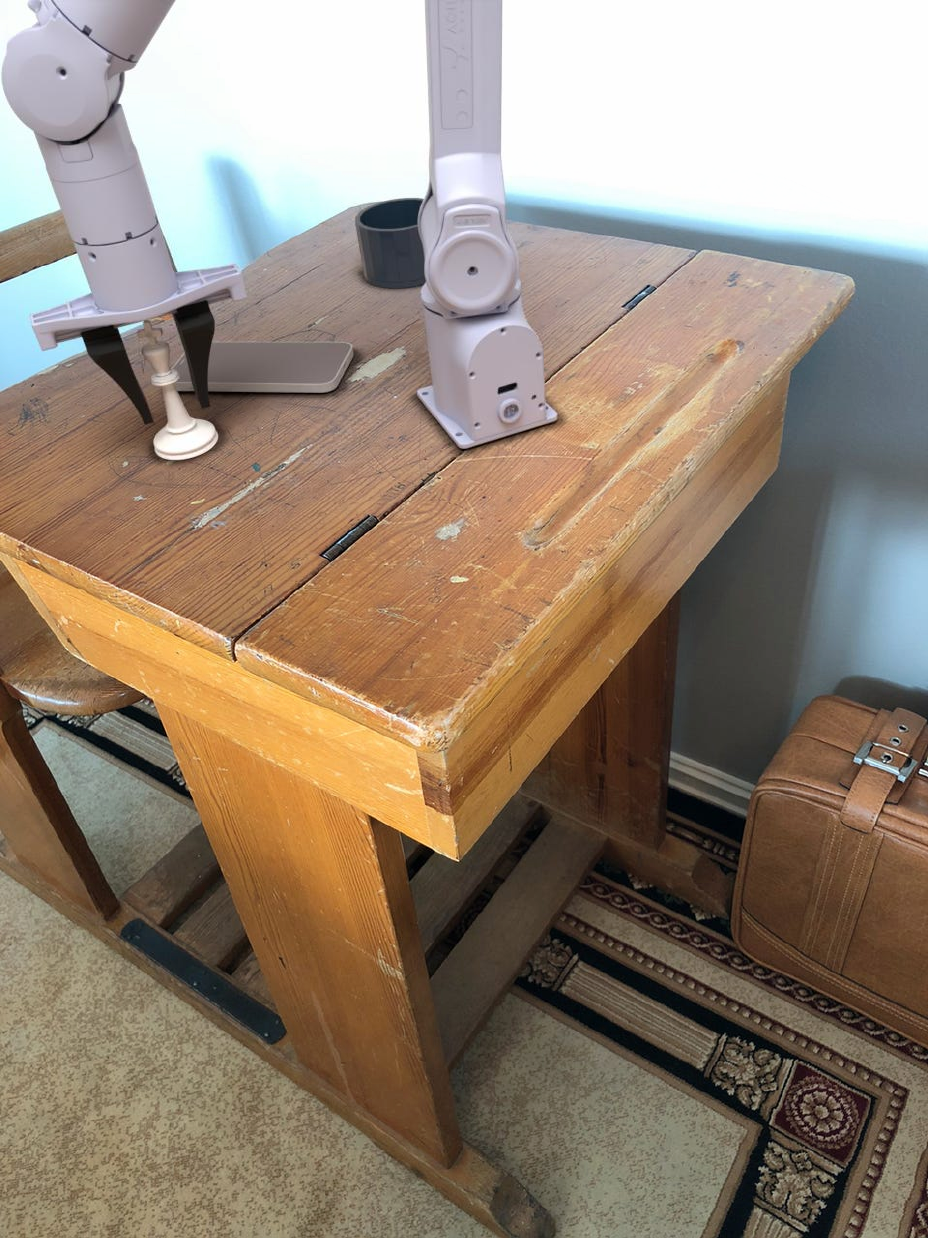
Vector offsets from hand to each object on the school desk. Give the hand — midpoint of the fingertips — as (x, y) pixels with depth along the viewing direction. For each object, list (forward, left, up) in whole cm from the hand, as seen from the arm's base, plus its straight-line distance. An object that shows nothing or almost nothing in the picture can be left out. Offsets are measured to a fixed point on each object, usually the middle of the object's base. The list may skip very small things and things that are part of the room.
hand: (175, 410), depth 73 cm
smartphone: (+8, -8, -3) cm, 12 cm away
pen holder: (+21, -26, -3) cm, 34 cm away
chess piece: (0, 0, -3) cm, 3 cm away
